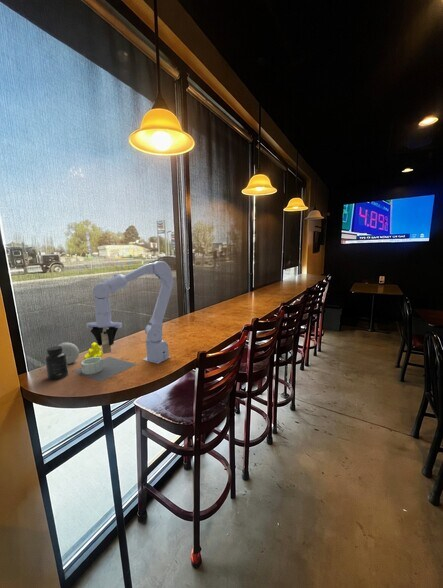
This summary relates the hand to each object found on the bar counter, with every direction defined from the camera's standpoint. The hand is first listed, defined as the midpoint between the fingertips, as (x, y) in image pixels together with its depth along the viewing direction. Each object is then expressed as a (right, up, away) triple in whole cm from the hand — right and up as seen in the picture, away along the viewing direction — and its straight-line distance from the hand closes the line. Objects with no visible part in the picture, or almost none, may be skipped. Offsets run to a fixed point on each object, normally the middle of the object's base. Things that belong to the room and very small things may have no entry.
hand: (106, 344), depth 103 cm
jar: (-5, -10, -2) cm, 11 cm away
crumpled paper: (-11, -9, +12) cm, 19 cm away
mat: (-1, -10, +1) cm, 10 cm away
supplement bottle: (-16, -12, -6) cm, 21 cm away
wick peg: (0, -3, 0) cm, 3 cm away
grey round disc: (-20, -10, +6) cm, 23 cm away
